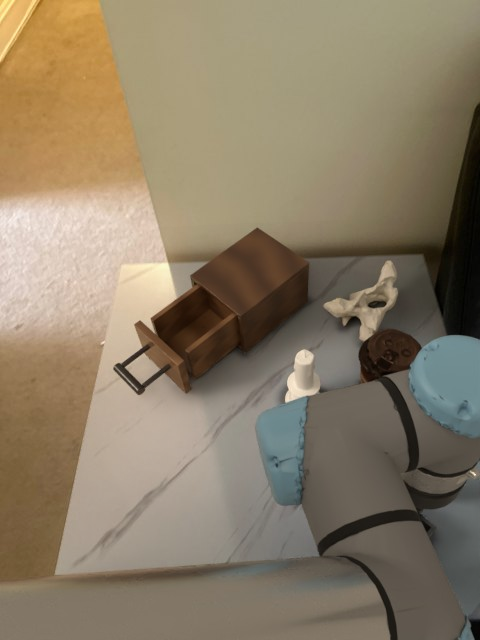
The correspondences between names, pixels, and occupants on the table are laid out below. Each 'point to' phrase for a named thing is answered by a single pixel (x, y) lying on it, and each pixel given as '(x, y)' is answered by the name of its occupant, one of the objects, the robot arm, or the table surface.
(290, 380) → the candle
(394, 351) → the coffee cup
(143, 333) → the drawer
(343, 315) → the bone
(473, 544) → the table surface
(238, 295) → the cabinet
